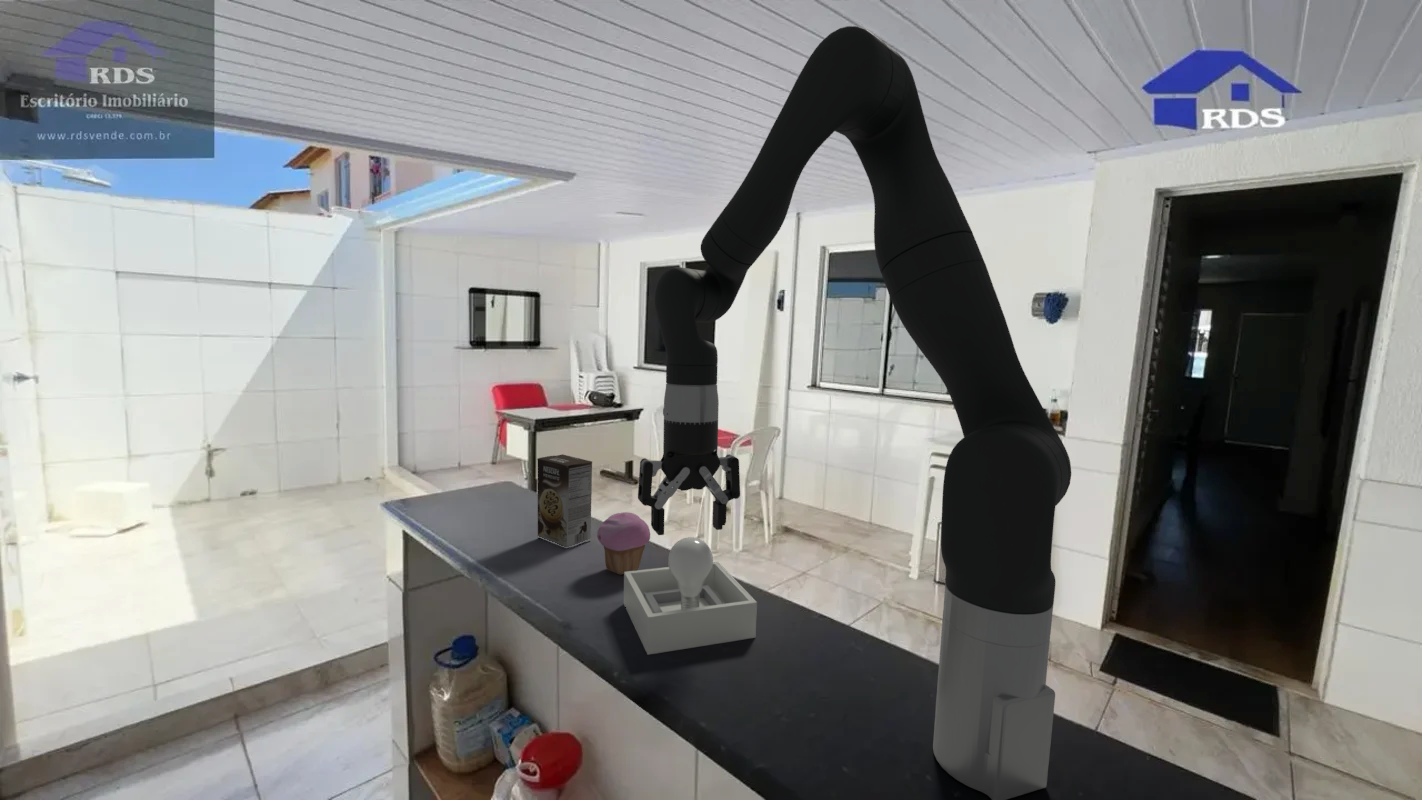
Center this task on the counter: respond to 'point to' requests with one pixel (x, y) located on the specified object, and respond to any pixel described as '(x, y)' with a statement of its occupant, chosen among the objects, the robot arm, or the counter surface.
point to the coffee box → (564, 499)
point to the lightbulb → (690, 568)
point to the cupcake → (623, 541)
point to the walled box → (687, 610)
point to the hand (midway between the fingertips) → (689, 530)
